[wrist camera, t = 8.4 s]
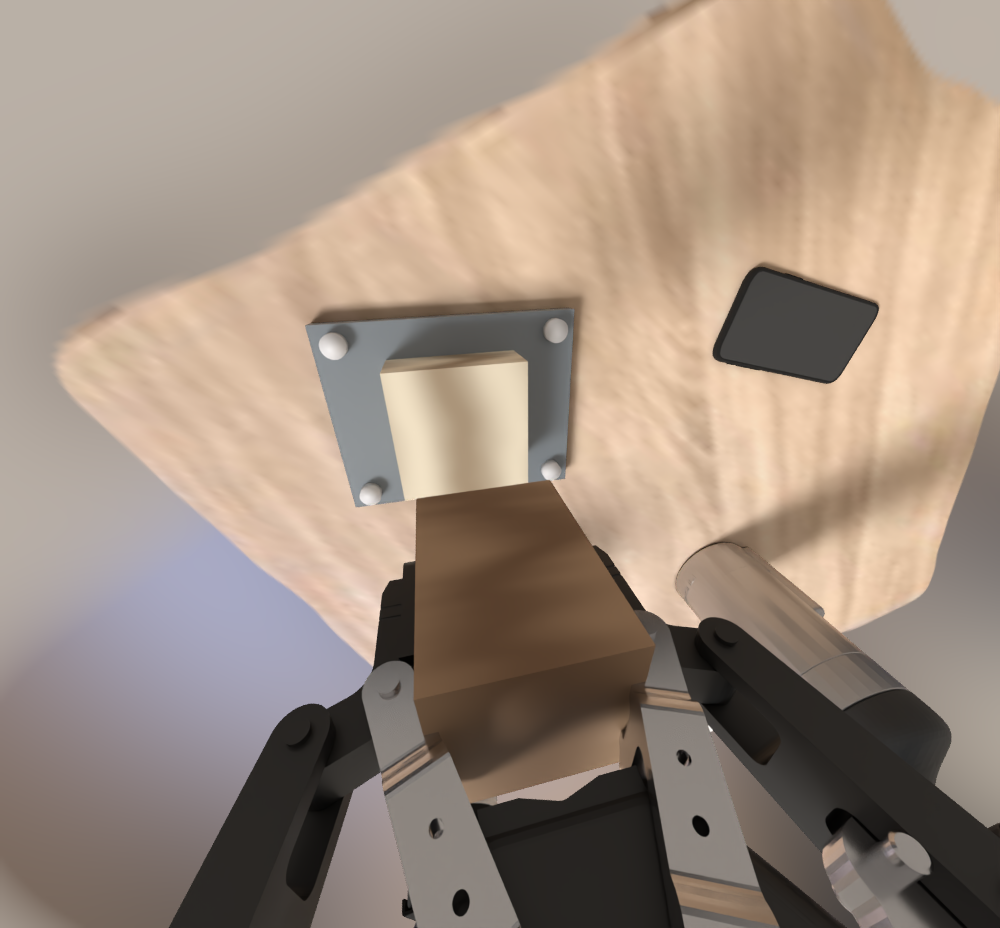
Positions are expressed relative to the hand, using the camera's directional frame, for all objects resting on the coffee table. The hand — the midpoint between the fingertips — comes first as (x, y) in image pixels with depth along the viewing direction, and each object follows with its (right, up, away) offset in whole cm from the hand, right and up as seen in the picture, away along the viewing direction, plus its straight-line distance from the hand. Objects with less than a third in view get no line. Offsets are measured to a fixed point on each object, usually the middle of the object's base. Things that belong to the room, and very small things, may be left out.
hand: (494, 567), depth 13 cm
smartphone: (+26, +16, +18) cm, 35 cm away
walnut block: (0, +1, +1) cm, 1 cm away
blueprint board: (-3, +8, +15) cm, 17 cm away
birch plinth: (-3, +8, +14) cm, 16 cm away
